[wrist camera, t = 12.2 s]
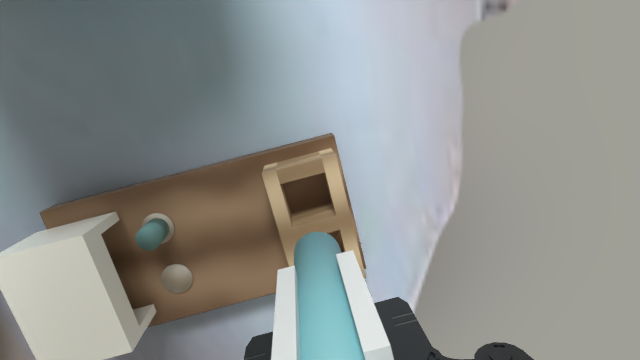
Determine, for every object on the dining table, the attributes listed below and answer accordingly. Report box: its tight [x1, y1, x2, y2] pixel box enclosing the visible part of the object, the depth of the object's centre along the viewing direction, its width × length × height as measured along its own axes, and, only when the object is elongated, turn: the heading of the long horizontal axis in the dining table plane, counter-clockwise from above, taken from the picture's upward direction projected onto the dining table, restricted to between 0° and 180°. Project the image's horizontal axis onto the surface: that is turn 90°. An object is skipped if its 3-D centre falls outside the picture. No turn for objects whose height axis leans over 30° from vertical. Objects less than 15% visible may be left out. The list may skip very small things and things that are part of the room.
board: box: [40, 133, 366, 327], centre depth 34 cm, size 13×26×6 cm, turn 105°
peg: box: [294, 232, 365, 360], centre depth 15 cm, size 2×2×12 cm
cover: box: [0, 211, 157, 360], centre depth 31 cm, size 10×7×6 cm
